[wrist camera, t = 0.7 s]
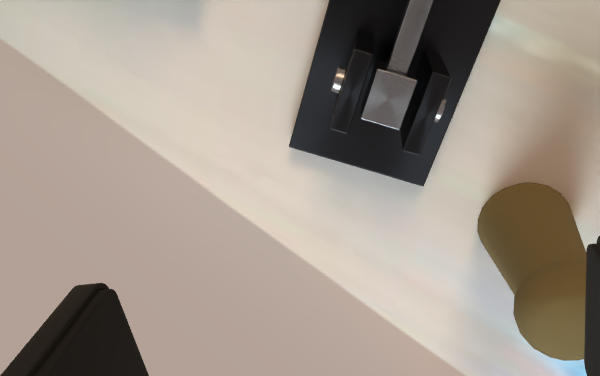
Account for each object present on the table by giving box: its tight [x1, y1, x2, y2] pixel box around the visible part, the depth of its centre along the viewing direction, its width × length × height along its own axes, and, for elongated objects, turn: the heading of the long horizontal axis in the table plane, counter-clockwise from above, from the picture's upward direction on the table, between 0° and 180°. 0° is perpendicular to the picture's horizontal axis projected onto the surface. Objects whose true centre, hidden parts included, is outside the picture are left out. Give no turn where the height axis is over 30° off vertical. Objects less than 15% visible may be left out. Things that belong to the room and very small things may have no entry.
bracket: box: [289, 0, 500, 186], centre depth 31 cm, size 12×9×6 cm
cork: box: [478, 183, 586, 360], centre depth 32 cm, size 6×6×11 cm
